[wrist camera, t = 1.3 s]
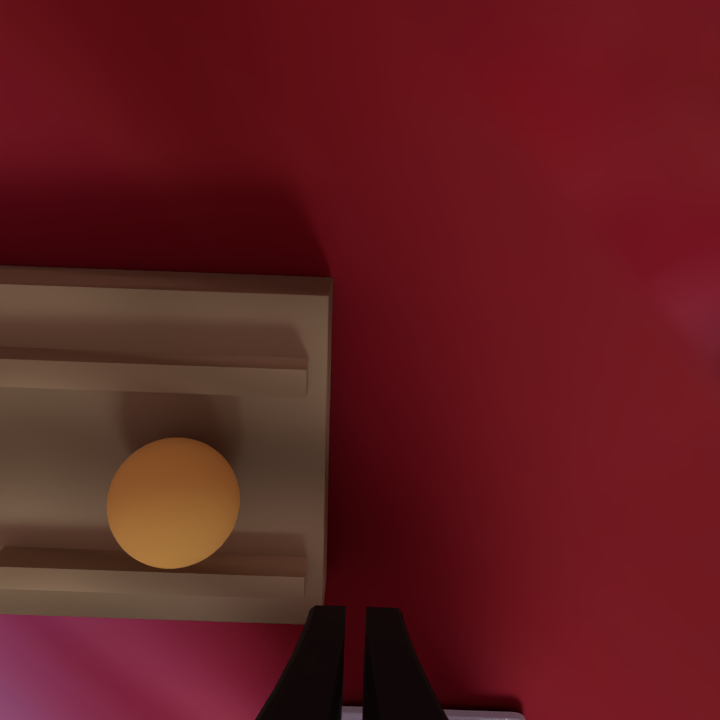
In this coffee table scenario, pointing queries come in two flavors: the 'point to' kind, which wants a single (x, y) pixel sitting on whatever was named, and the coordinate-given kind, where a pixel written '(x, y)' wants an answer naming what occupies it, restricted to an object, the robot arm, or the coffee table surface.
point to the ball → (173, 503)
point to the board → (162, 436)
